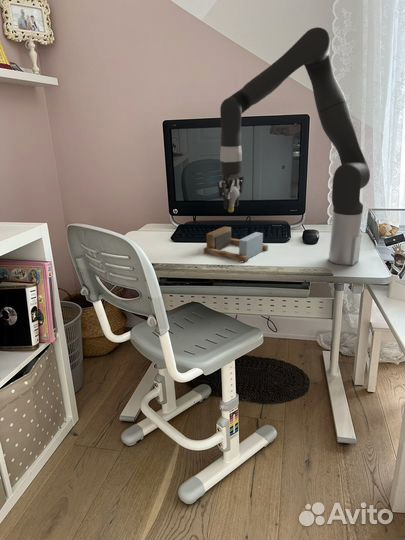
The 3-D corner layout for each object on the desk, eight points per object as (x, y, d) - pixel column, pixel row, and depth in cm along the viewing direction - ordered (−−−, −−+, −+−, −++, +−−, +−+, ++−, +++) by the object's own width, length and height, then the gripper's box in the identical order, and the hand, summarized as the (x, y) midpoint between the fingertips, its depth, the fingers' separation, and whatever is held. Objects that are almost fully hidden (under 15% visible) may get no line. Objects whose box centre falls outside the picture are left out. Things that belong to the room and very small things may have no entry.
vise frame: (267, 250, 160) (268, 232, 158) (245, 262, 148) (245, 243, 146) (227, 242, 170) (227, 225, 168) (203, 253, 159) (203, 235, 156)
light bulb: (220, 213, 155) (220, 185, 151) (229, 210, 159) (229, 183, 155) (232, 215, 152) (232, 186, 148) (241, 212, 156) (241, 184, 152)
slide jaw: (262, 250, 159) (262, 233, 157) (246, 259, 151) (246, 241, 148) (254, 249, 161) (254, 231, 159) (238, 257, 153) (238, 239, 150)
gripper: (233, 156, 156) (233, 202, 162) (210, 161, 145) (211, 210, 152) (251, 157, 152) (250, 204, 158) (228, 162, 141) (228, 213, 147)
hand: (231, 207), depth 155 cm, fingers closed on light bulb, 5 cm apart
